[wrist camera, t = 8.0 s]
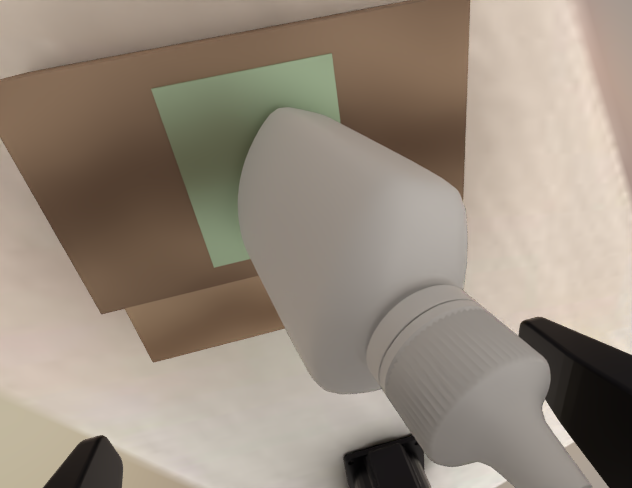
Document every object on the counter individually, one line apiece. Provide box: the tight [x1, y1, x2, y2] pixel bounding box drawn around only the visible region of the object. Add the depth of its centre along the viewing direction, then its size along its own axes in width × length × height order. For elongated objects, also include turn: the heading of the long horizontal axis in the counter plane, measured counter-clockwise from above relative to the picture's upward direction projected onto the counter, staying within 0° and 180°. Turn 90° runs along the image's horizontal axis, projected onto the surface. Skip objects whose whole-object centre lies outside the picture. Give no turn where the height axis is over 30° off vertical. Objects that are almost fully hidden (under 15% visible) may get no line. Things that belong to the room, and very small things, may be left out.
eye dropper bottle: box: [238, 107, 592, 488], centre depth 10 cm, size 4×6×12 cm
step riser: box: [0, 0, 470, 362], centre depth 18 cm, size 14×16×4 cm
